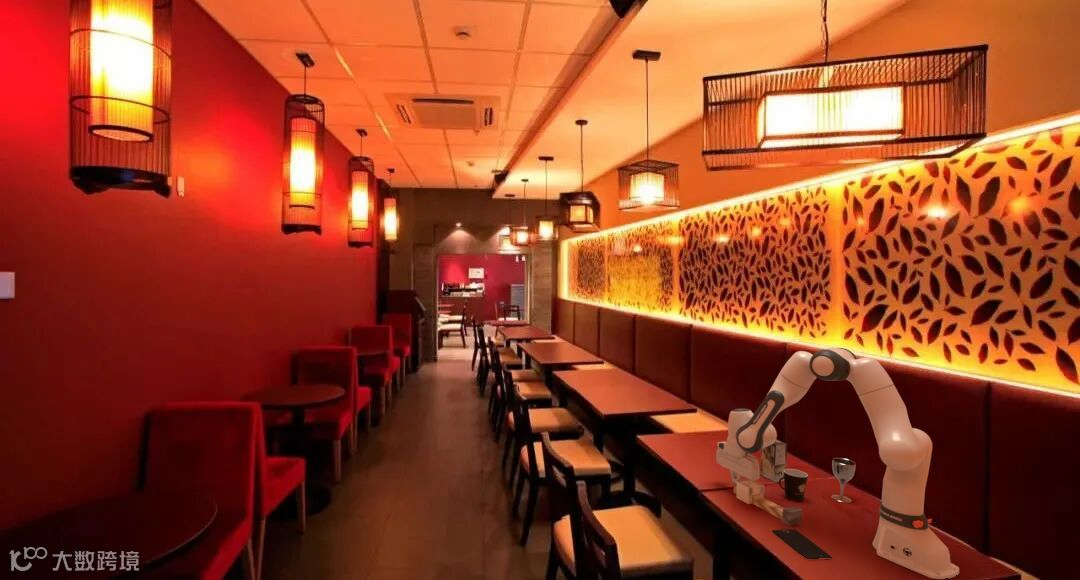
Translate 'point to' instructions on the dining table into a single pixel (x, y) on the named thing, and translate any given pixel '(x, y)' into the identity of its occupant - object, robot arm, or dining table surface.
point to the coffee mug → (794, 484)
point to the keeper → (749, 490)
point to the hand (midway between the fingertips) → (736, 483)
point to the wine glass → (843, 475)
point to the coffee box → (774, 461)
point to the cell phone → (801, 544)
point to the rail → (777, 510)
